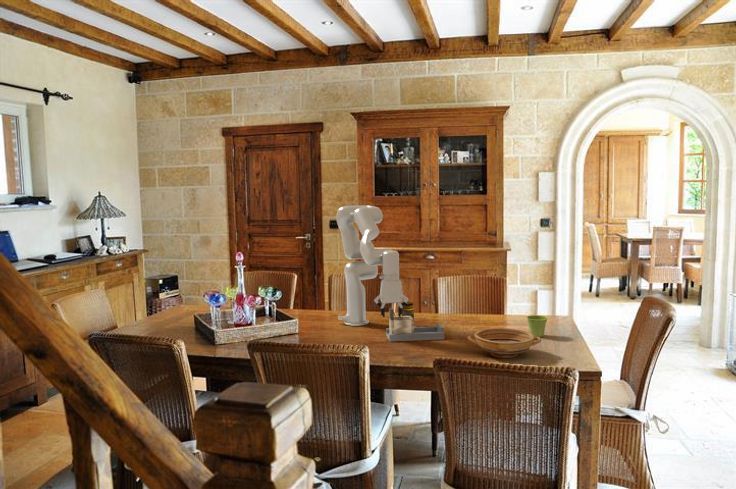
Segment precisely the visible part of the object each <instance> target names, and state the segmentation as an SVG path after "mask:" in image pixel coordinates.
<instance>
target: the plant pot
mask: <svg viewBox="0 0 736 489" xmlns="http://www.w3.org/2000/svg"><path fill="white" fill-rule="evenodd" d="M525 318H526V320H527V323H528V329H529V331H528V332H529V333H531V334H533V335H534V336H535V337H540V338H543V337H544V336H545V331H546V330H545V329H546V323H547V320H549V318H548V317H547V316H544V315H541V314H540V315H539V314H538V315H537V314H535V315H527V316H526V317H525Z"/></svg>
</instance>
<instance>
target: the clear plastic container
mask: <svg viewBox="0 0 736 489" xmlns="http://www.w3.org/2000/svg"><path fill="white" fill-rule="evenodd" d="M388 314H389V315H388V322H389V324H388V326H389V327H388V328H389V334H408V333H414V326H415V319H414V320H413V319H412V317H411V316H402V315H401V317H399V316H398V315H397V316H395V315H394V314H395V310H394V309H393V307H389V308H388Z"/></svg>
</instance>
